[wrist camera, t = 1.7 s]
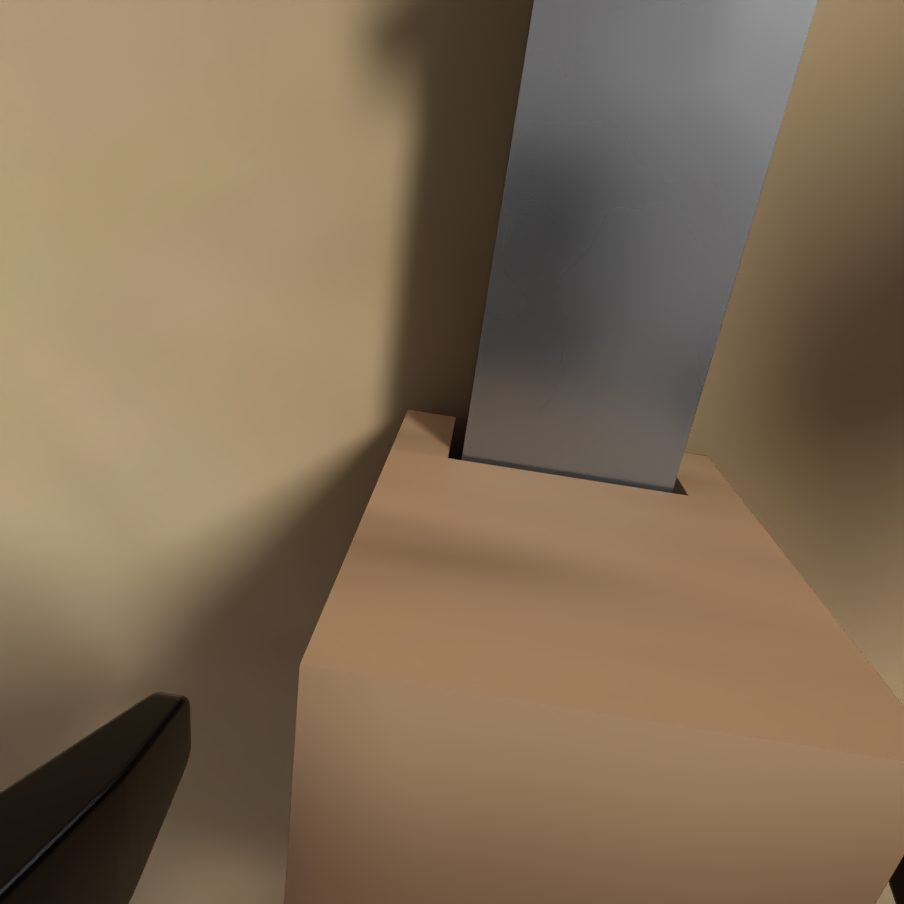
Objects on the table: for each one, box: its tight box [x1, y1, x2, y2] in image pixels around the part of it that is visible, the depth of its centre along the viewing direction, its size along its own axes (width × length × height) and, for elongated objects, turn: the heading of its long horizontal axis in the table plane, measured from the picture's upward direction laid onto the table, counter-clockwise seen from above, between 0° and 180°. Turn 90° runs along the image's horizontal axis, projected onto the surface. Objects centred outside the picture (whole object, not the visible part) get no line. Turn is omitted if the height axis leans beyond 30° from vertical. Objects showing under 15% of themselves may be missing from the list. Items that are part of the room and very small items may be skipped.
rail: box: [461, 0, 818, 493], centre depth 9 cm, size 15×3×3 cm, turn 172°
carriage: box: [284, 410, 904, 904], centre depth 9 cm, size 6×5×6 cm
